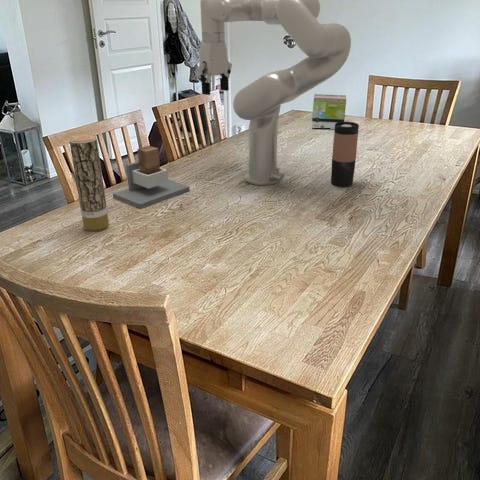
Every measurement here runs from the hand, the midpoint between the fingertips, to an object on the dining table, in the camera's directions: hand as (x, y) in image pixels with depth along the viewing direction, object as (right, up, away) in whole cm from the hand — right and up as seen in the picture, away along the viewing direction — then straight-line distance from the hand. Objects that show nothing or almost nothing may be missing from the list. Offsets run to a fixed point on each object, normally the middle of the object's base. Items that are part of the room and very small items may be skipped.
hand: (215, 92), depth 169 cm
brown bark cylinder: (-31, -47, -32) cm, 65 cm away
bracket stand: (-20, -36, -10) cm, 42 cm away
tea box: (+50, +3, +68) cm, 85 cm away
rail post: (-20, -31, -12) cm, 39 cm away
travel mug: (+43, -32, -3) cm, 53 cm away
